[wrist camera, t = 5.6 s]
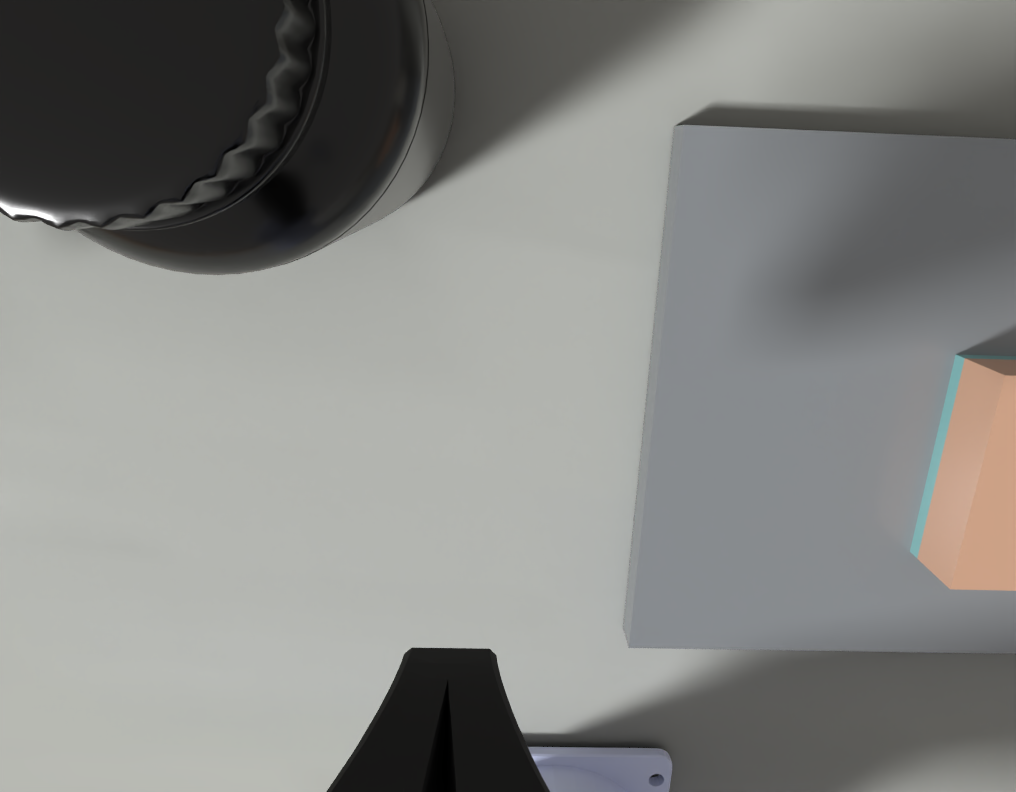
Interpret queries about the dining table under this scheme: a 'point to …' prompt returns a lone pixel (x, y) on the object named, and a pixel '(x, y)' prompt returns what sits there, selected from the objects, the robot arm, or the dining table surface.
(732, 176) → the slate board
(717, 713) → the dining table surface
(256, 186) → the supplement bottle
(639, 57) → the dining table surface
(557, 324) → the dining table surface
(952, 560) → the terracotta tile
